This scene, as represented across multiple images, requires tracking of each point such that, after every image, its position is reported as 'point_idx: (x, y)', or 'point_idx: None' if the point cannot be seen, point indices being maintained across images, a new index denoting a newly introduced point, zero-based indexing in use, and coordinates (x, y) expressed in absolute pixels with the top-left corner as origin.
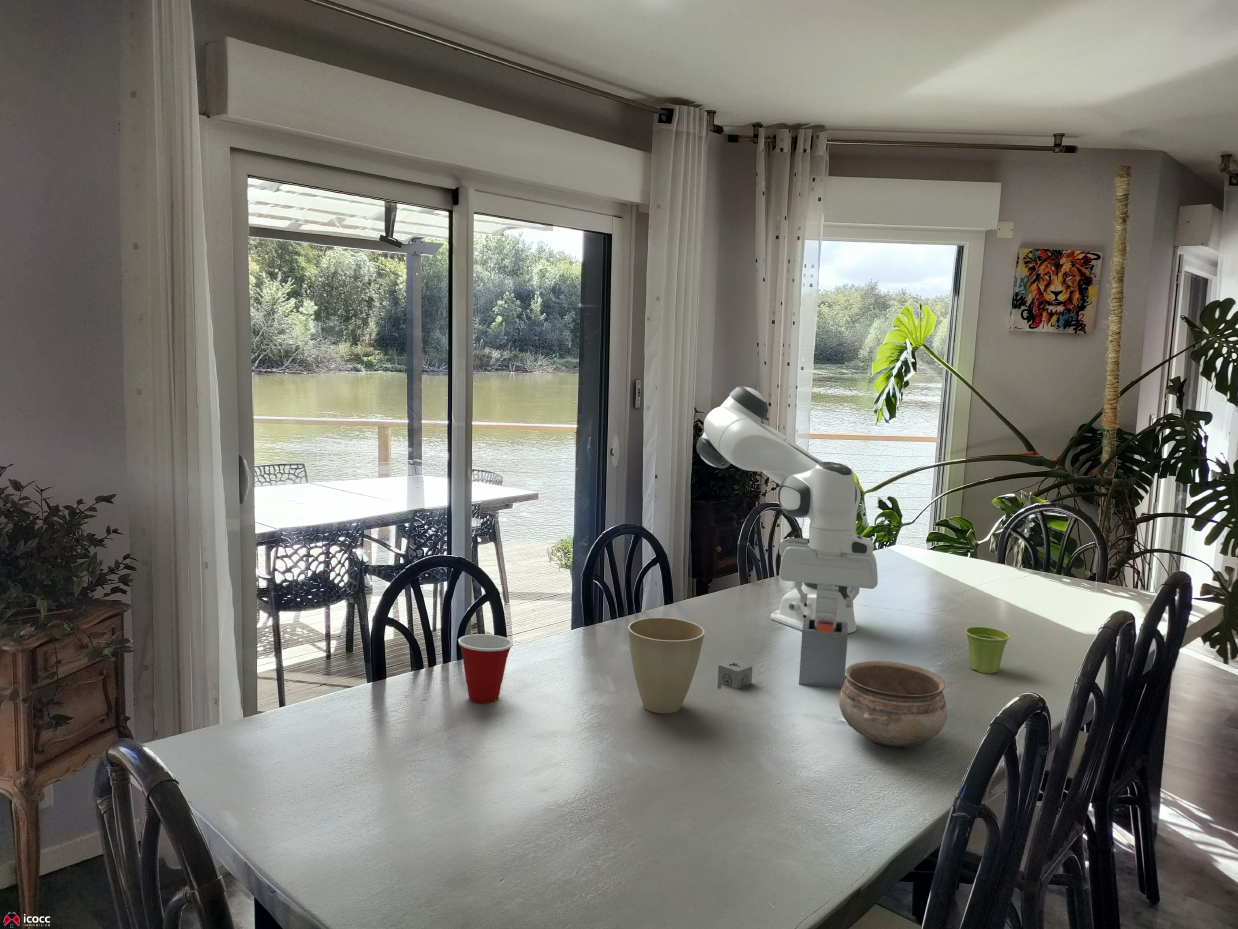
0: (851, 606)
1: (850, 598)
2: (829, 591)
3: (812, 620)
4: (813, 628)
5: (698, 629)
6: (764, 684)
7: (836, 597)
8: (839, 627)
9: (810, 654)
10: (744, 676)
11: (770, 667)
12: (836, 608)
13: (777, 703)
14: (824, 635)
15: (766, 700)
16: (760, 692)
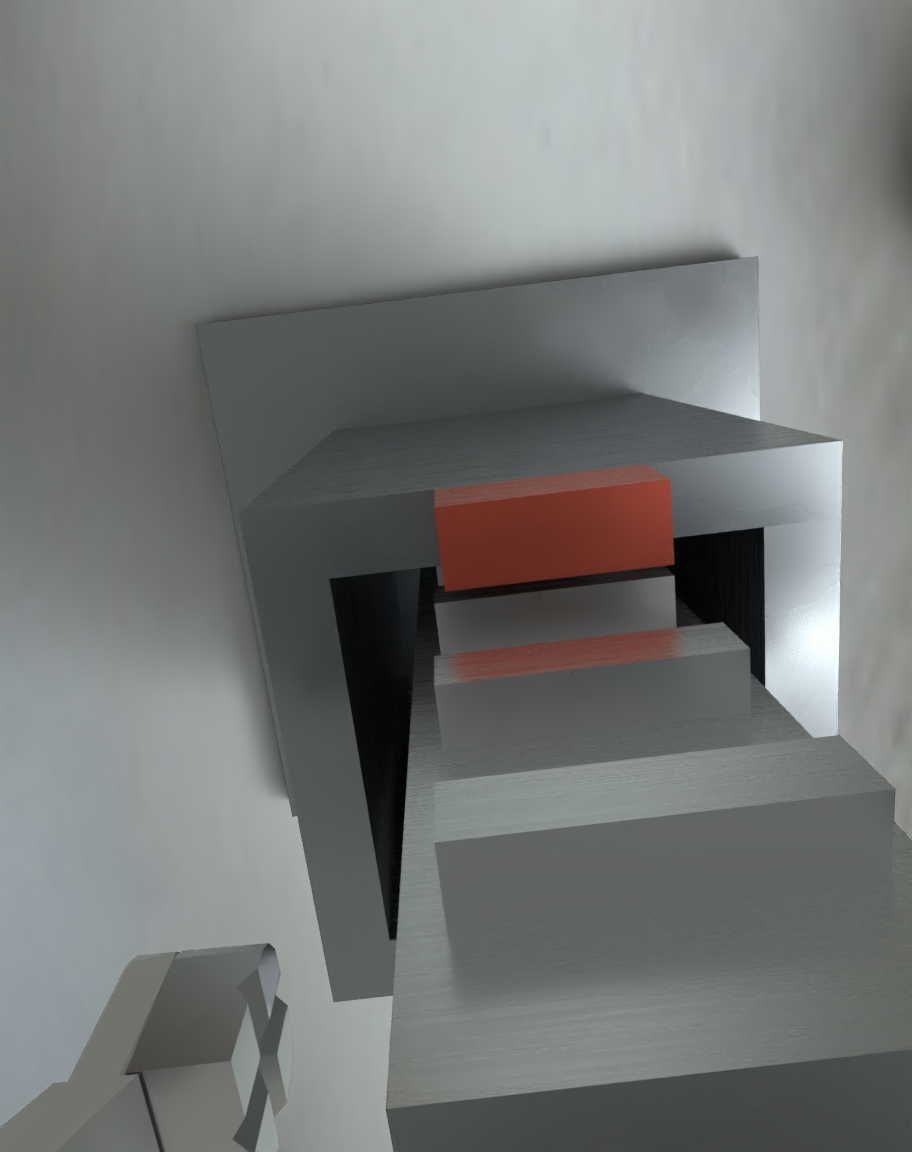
0: (151, 962)
1: (133, 1125)
2: (672, 1063)
3: None
4: None
5: None
6: (867, 393)
7: (436, 960)
8: None
9: (632, 422)
10: None
11: (847, 720)
12: (421, 793)
13: (752, 45)
14: (536, 470)
15: (834, 71)
16: (886, 219)
